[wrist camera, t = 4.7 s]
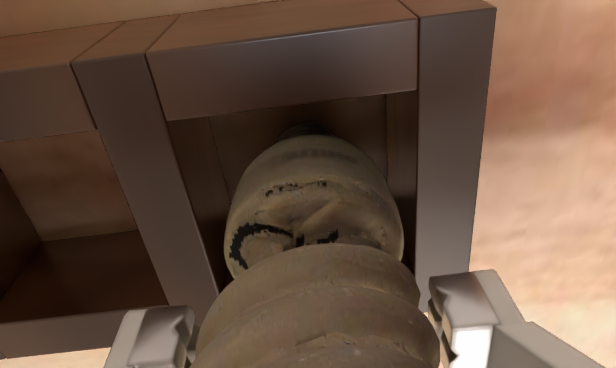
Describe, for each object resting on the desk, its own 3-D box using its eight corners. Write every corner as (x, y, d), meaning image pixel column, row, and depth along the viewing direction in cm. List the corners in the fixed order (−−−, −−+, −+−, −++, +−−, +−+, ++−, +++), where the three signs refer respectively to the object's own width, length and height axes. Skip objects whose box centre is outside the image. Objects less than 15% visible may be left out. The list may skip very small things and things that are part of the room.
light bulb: (249, 203, 20) (187, 704, 8) (219, 89, 17) (34, 595, 5) (372, 185, 20) (521, 671, 7) (362, 66, 17) (582, 535, 4)
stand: (20, 277, 22) (-43, 365, 18) (-122, 53, 16) (-269, 106, 12) (429, 229, 22) (464, 308, 17) (439, -21, 16) (497, 7, 11)
